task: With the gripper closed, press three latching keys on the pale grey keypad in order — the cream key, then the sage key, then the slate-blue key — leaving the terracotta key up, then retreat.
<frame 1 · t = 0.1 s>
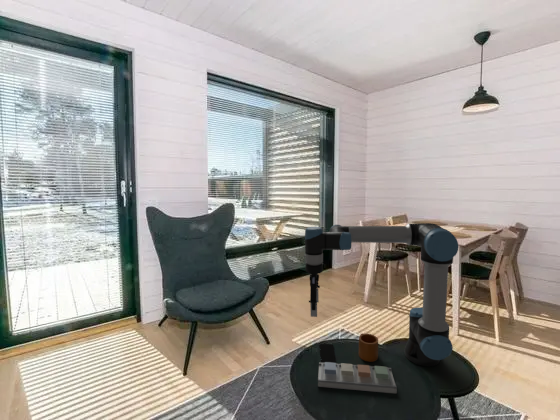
hand: (314, 308, 135), 28 cm above the table, fingers open, 13 cm apart
key sage: (381, 372, 127), point 4 cm above the table, slide at 0.0 cm
keypad: (355, 379, 130), on the table
mug: (367, 354, 147), on the table
key blue: (330, 368, 131), point 4 cm above the table, slide at 0.0 cm
key terracotta: (363, 370, 128), point 4 cm above the table, slide at 0.0 cm
smartphone: (327, 354, 148), on the table
key cream: (346, 369, 130), point 4 cm above the table, slide at 0.0 cm
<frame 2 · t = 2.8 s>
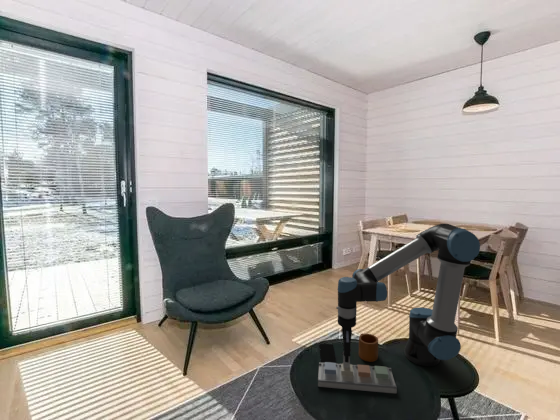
hand: (346, 367, 129), 6 cm above the table, fingers closed
key cream: (346, 369, 130), point 4 cm above the table, slide at 0.2 cm, touching gripper
everything else where it was.
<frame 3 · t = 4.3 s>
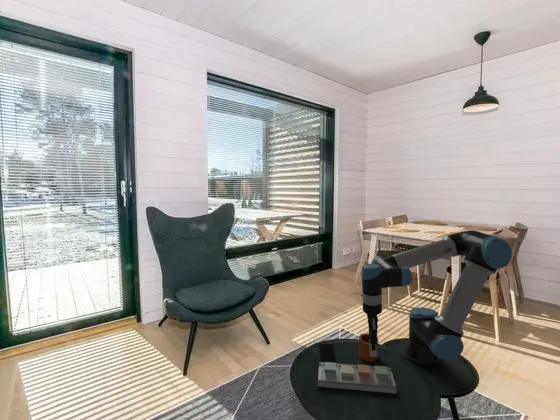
hand: (373, 355, 127), 12 cm above the table, fingers closed
key cream: (346, 371, 130), point 4 cm above the table, slide at 1.0 cm
everything else where it was.
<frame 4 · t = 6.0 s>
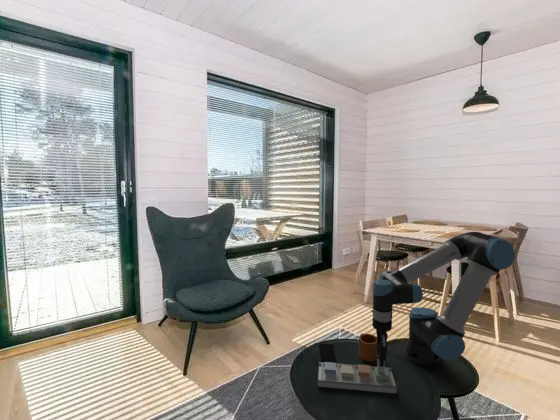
hand: (380, 371, 127), 5 cm above the table, fingers closed
key sage: (381, 374, 127), point 4 cm above the table, slide at 0.9 cm, touching gripper
everything else where it was.
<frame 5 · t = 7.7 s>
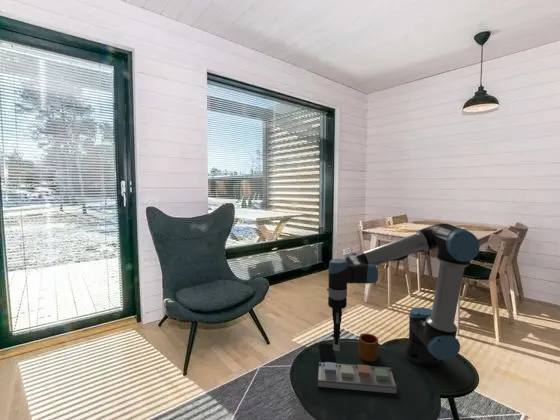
hand: (336, 349, 129), 13 cm above the table, fingers closed
key sage: (381, 374, 127), point 4 cm above the table, slide at 1.0 cm
everything else where it was.
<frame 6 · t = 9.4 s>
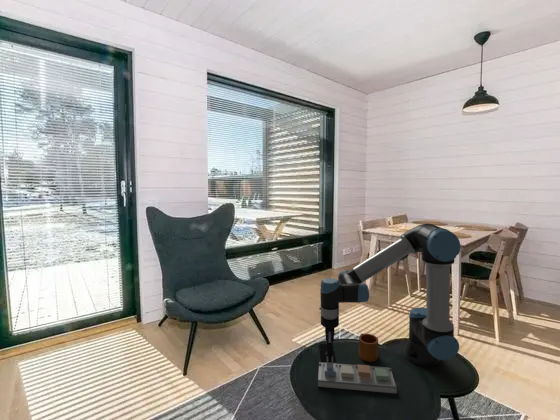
hand: (329, 367, 131), 5 cm above the table, fingers closed
key blue: (330, 369, 131), point 4 cm above the table, slide at 0.8 cm, touching gripper
everything else where it was.
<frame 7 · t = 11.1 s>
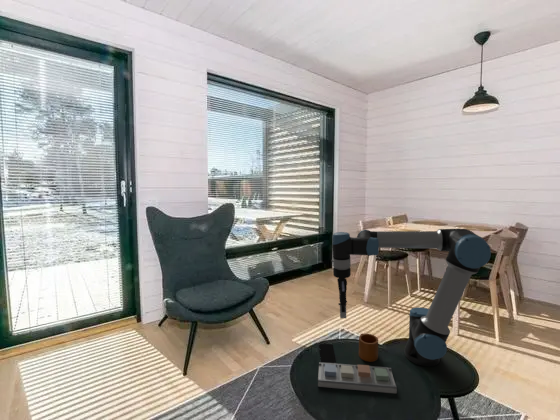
hand: (343, 317, 138), 22 cm above the table, fingers closed
key blue: (330, 370, 131), point 4 cm above the table, slide at 1.0 cm
everything else where it was.
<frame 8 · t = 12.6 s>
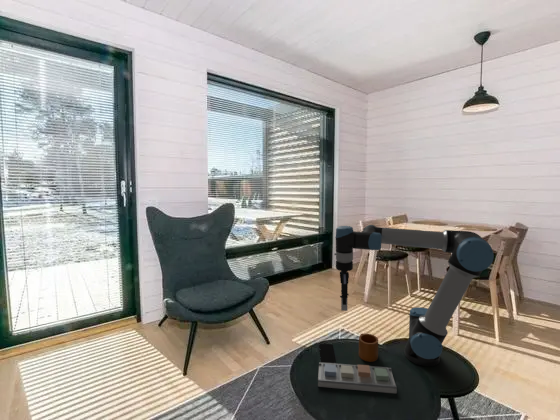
hand: (344, 309, 140), 24 cm above the table, fingers closed
nothing on the table moved.
at the end: key cream slide at 1.0 cm; key sage slide at 1.0 cm; key blue slide at 1.0 cm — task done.
